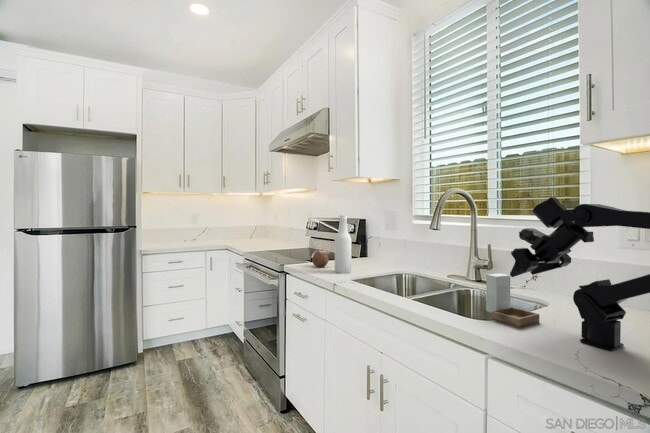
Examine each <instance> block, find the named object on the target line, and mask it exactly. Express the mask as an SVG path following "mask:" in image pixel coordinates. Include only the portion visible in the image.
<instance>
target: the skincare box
mask: <svg viewBox="0 0 650 433" xmlns="http://www.w3.org/2000/svg"><path fill="white" fill-rule="evenodd" d="M485 276H486V277H485V279H486V283H485V286H486V288H485V290H486V292H485V293H486V294H485V295H486V297H485V298H486V299H485V300H486V307H485V310H486V312H488V313H490V314H492V311H496V310H501V309H505V308H510V307H511V276H510V274H505V273H501V272H500V273H490V274H489V273H488V274H487V273H486V275H485Z"/></svg>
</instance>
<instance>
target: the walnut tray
mask: <svg viewBox="0 0 650 433" xmlns="http://www.w3.org/2000/svg"><path fill="white" fill-rule="evenodd" d="M491 320H492V321H495V322H498V323H501V322H502V323H501V324H504V325H507V324H508V325H507V326H510V325H511V327H514V328H517V329H521V328H526V327H530V326H533V325H535V324H540V314H539V313H536V312H532V311H529V310H525V309H521V308H517V307H514V306H510V308H505V309H501V310H496V311H492V313H491ZM500 321H501V322H500Z"/></svg>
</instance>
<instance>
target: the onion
mask: <svg viewBox="0 0 650 433" xmlns="http://www.w3.org/2000/svg"><path fill="white" fill-rule="evenodd" d="M311 261H312V264H313V265H314V266H315V267H316V268H321V267H322V268H326V266H327V264H329V256H328V254H327V253H326V252H323V251H316V252H315V253H314V254H313V256H312V259H311Z"/></svg>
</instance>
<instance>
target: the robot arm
mask: <svg viewBox="0 0 650 433" xmlns="http://www.w3.org/2000/svg"><path fill="white" fill-rule="evenodd" d="M531 212H532V213H533V215H534V216H535V217H536V218H537V219H538V220H539V221H540V222H541V223H542V224H543V225H544V226H545V227H546V228H553V229H555V230H553V231H552V232H551V233H550V234H546V233H543V232H541V231H540V230H538V229H536V228H531V227H530V228H528V227H527V228H521V230H520V231H519V232H518V236H519V239H520V240H522V241H525V242H526V243H528V244H530V246H529V247H530V248H531V249H532V250H534V253H532V251H531V250H530V249H529V248H528V247H527V248H526V247H518V248H517V247H516V248H514V249H513V250H512V251H511V252H510V255H511V256H512V257H513V259H514V263H513V266H512V269H511V270H510V273H509V275H510V278H514V277H515V278H516V277H518V276H521V275H523V274H527V273H529V272H530V273H531V275H533V276H534V275H538V274H541V273H545V272H549V271H554V270H557V269H561V268H563V267H567V266H568V265H570V264H571V263H572V257H571V256H570V255H569V254H570V253H571V252H572V250H571V249H572V248H573V247H574V246H575V245H576V244H578V243H579V242H580V241H582V242H583V243H585V244H586V243H593V242H594V241H595V239H594V238H595V237H594V231H587V229H585V228H594V227H595V228H599V227H615V226H616V227H625V228H635V229H647V230H650V211H639V210H627V209H621V208H617V207H615V206H609V205H604V204H599V203H581V204H577V206H576V207H574V208H572V209H567V208H566V207H565V205H563V204H562V203H561V202H560V201H559V199H558V198H557V197H556V196H554V197H552V196H551V197H549V198H548V199H546V200H544V201H541V203H539V204H537V205H536V206H534V208H533V209H532V211H531ZM647 294H648V295H649V294H650V273H649V274H645V275H643V276H638V277H634V278H632V279H628V280H624V281H621V282H618V283H613V284H612V283H611V280H610V279H602V280H595V281H593V282H591V283H589V284H582V285H578V289H576V290H575V291H574V292H573V296H572V298H573V303H574V305H575V306H576V307H577V310H578V313H579V315H580V318H581V319H583V321H581V330H580V331H581V334H580V335H581V338H580V339H579V341H580V343H584V344H586V345H591V346H594V347H596V348H600V349H604V350H607V351H616V350H617V349H618V350H619V349H620V348H622V347H624V345H625V344H624V343H622V342H621V328H622V327H621V324H622V323H621V322H622V320H623V319H624V317H625V316H626V313H627V312H626V311H625V309H624V308H623V307H622V306H621V305H620V304H621V303H623V302H625V301H626V300H628V299H633V298H635V297H640V296H643V295H647Z"/></svg>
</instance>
